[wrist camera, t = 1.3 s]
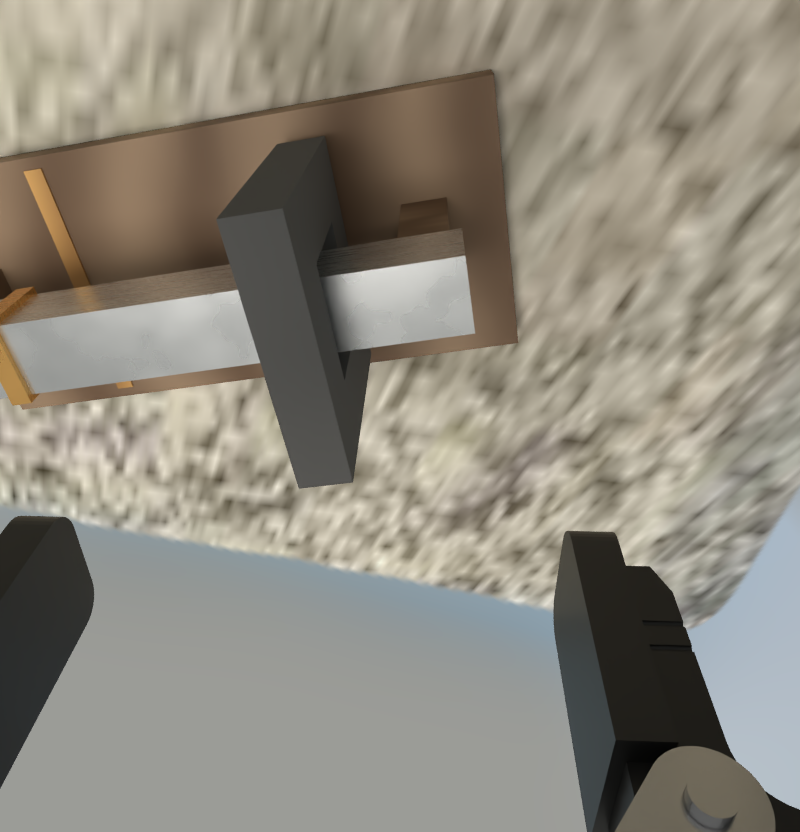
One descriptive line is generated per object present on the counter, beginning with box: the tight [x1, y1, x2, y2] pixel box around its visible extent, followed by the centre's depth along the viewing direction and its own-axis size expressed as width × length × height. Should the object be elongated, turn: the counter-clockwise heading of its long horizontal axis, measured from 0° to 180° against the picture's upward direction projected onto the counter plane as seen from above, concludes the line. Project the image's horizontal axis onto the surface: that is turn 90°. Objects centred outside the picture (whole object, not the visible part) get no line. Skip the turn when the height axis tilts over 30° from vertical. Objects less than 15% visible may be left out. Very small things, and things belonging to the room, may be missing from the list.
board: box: [0, 70, 518, 409], centre depth 32 cm, size 26×12×6 cm, turn 100°
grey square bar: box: [0, 228, 475, 405], centre depth 28 cm, size 24×4×4 cm, turn 100°
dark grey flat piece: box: [216, 136, 371, 489], centre depth 28 cm, size 2×10×10 cm, turn 10°
